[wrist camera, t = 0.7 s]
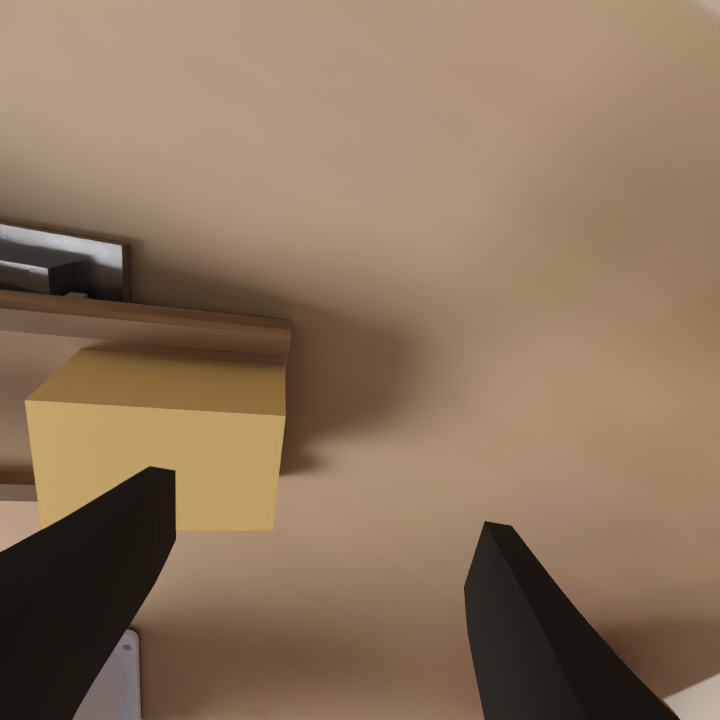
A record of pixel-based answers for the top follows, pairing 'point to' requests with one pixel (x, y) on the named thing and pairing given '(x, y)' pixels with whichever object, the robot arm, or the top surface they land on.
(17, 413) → the beam
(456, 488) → the top surface
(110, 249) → the pivot stand
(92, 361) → the block
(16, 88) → the top surface
